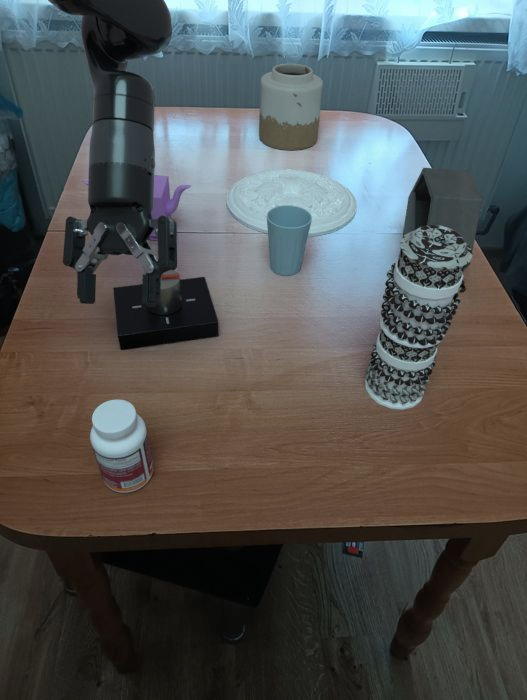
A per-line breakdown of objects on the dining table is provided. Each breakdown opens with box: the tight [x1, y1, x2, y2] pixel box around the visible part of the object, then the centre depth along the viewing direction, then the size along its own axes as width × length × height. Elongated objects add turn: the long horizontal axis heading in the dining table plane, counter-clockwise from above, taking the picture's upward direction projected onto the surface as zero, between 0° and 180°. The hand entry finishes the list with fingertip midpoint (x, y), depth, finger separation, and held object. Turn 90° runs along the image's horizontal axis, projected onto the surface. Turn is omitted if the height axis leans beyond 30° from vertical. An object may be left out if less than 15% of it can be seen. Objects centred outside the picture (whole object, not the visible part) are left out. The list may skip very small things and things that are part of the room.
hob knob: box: [141, 269, 182, 315], centre depth 83 cm, size 6×6×5 cm
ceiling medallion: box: [225, 168, 358, 238], centre depth 115 cm, size 28×28×3 cm
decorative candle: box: [364, 225, 474, 411], centre depth 69 cm, size 9×9×25 cm
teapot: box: [82, 174, 192, 241], centre depth 102 cm, size 15×13×11 cm
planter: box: [401, 167, 483, 271], centre depth 94 cm, size 17×8×21 cm
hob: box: [112, 276, 220, 351], centre depth 86 cm, size 15×12×3 cm
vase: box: [258, 63, 324, 151], centre depth 135 cm, size 15×15×17 cm
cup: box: [267, 205, 312, 277], centre depth 95 cm, size 8×8×10 cm
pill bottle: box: [89, 398, 155, 494], centre depth 62 cm, size 6×6×11 cm
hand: (117, 305), depth 65 cm, fingers open, 8 cm apart
